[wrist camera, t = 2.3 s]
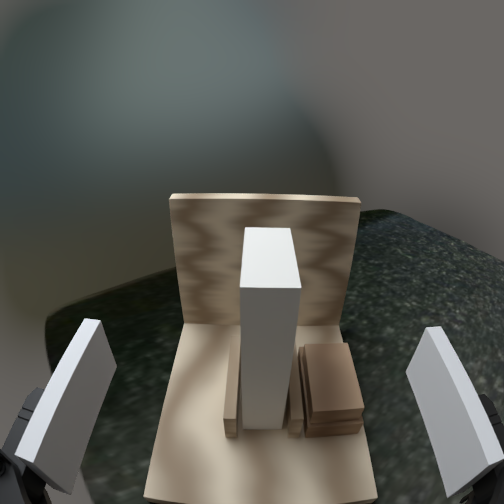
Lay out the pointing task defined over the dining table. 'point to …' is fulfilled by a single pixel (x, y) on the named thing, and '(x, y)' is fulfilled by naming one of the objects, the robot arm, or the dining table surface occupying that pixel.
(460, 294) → the dining table surface
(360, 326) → the dining table surface
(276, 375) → the white block
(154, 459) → the maple rack
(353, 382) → the walnut offcuts
